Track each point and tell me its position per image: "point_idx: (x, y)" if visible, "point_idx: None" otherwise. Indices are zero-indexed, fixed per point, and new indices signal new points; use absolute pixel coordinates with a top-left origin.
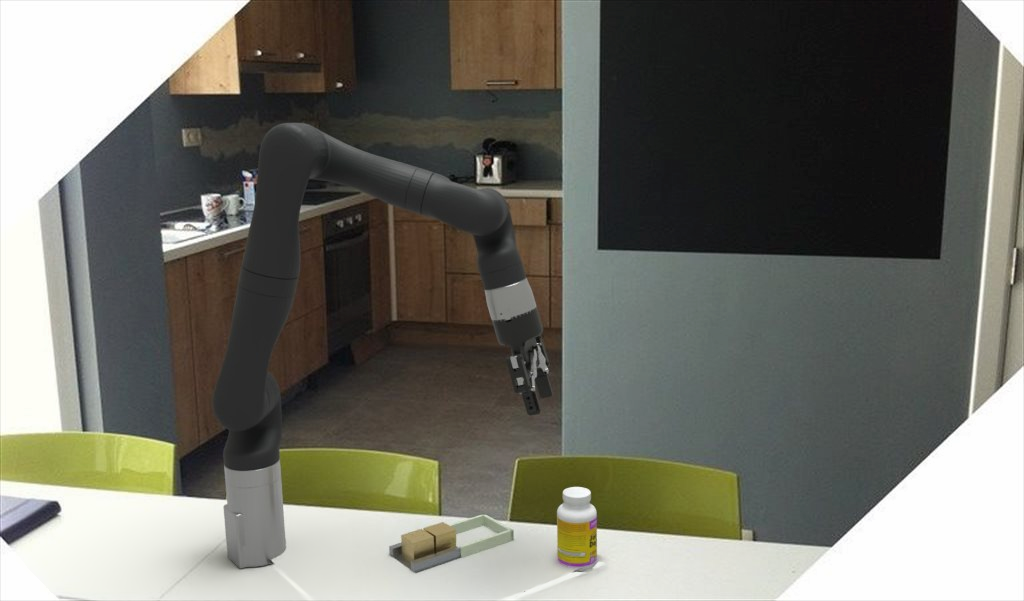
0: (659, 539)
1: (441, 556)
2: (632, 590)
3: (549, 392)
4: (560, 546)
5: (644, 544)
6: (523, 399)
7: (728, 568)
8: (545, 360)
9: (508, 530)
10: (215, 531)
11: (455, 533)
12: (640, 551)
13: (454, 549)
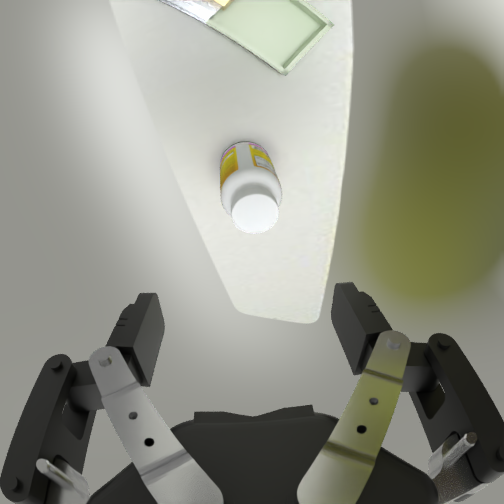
0: (323, 231)
1: (179, 6)
2: (202, 228)
3: (335, 321)
4: (226, 160)
5: (310, 220)
6: (122, 330)
7: (270, 286)
8: (415, 402)
9: (282, 69)
10: None
11: (223, 6)
12: (292, 219)
13: (201, 14)
